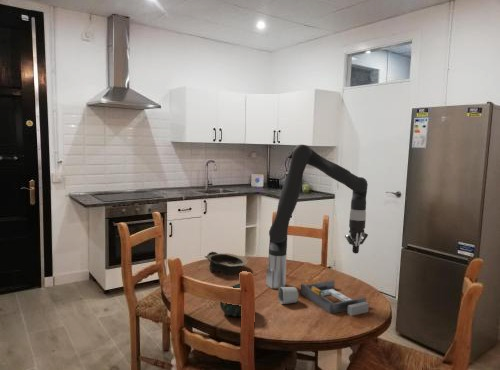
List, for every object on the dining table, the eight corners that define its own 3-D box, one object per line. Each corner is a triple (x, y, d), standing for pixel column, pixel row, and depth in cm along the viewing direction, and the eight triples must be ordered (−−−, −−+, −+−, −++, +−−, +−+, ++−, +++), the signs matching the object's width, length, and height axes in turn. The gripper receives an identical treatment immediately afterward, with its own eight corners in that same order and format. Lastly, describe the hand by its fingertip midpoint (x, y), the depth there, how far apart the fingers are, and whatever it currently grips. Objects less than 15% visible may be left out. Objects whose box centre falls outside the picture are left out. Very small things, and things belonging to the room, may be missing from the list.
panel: (351, 316, 169) (351, 307, 168) (347, 314, 171) (347, 305, 170) (368, 312, 173) (368, 303, 173) (364, 310, 175) (364, 301, 175)
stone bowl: (195, 271, 220) (196, 255, 220) (223, 263, 241) (223, 248, 240) (230, 280, 206) (231, 263, 206) (255, 271, 227) (256, 255, 226)
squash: (214, 295, 173) (223, 279, 163) (245, 292, 180) (255, 276, 169) (221, 326, 165) (231, 310, 155) (253, 321, 171) (264, 306, 161)
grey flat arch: (308, 292, 189) (332, 287, 196) (308, 297, 190) (331, 292, 196) (332, 307, 173) (357, 301, 180) (332, 312, 173) (357, 306, 180)
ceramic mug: (299, 304, 179) (300, 289, 178) (283, 306, 176) (283, 290, 175) (290, 296, 189) (291, 281, 188) (275, 298, 186) (275, 282, 186)
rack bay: (330, 313, 170) (331, 298, 169) (300, 293, 192) (301, 280, 191) (365, 306, 179) (366, 291, 178) (332, 287, 201) (333, 274, 200)
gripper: (362, 216, 193) (360, 249, 195) (341, 217, 187) (339, 252, 189) (373, 219, 186) (371, 253, 188) (352, 220, 180) (349, 256, 182)
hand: (355, 253), depth 189 cm, fingers closed
